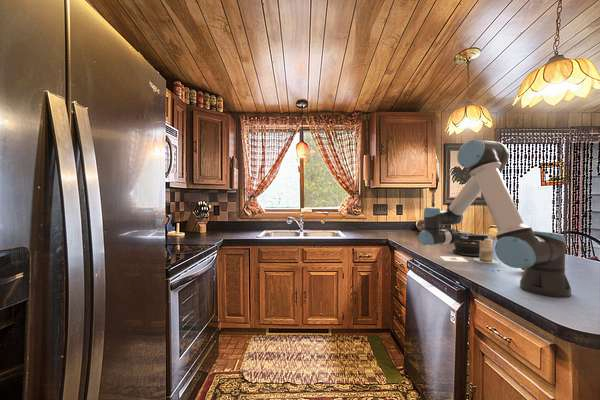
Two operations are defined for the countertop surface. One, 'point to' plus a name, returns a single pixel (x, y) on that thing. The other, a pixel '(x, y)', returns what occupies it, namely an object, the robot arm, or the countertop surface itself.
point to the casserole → (467, 247)
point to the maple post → (486, 250)
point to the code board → (453, 259)
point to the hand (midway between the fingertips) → (478, 234)
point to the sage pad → (486, 262)
